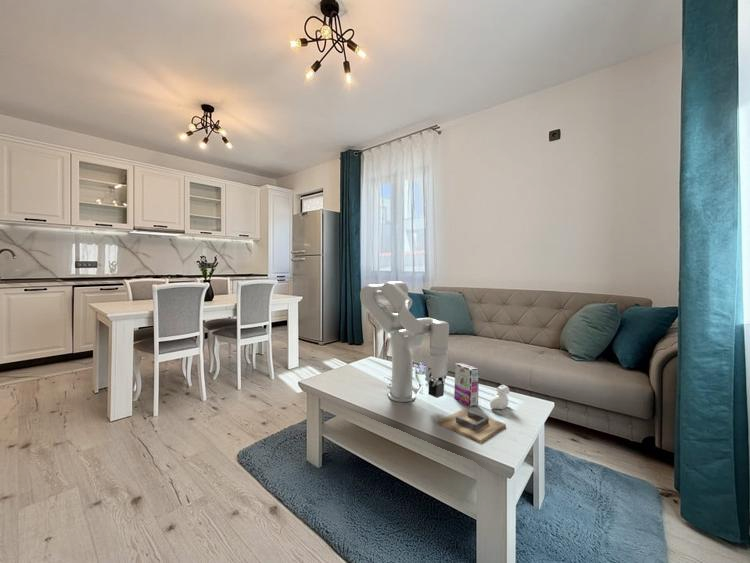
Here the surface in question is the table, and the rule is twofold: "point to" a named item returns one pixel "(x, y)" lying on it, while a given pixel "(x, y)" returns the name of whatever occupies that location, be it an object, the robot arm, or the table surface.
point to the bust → (500, 398)
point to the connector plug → (438, 389)
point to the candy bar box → (466, 384)
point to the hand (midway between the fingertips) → (435, 392)
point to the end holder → (472, 425)
